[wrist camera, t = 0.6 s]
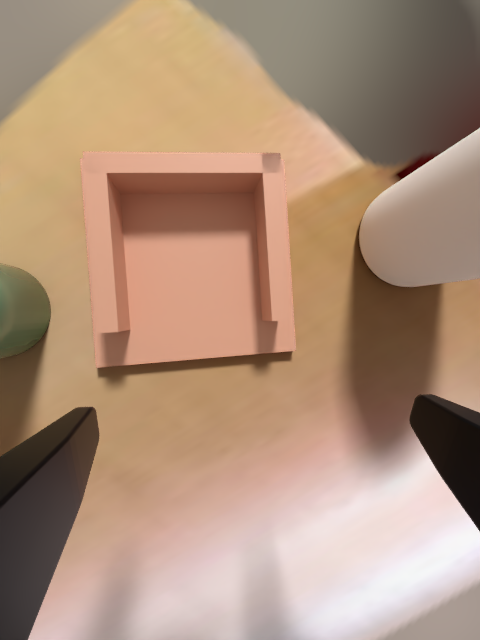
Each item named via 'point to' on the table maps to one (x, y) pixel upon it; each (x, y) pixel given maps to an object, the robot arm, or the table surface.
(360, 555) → the table surface
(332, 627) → the table surface
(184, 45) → the table surface
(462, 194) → the pill bottle
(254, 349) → the u rest
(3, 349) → the bottle
